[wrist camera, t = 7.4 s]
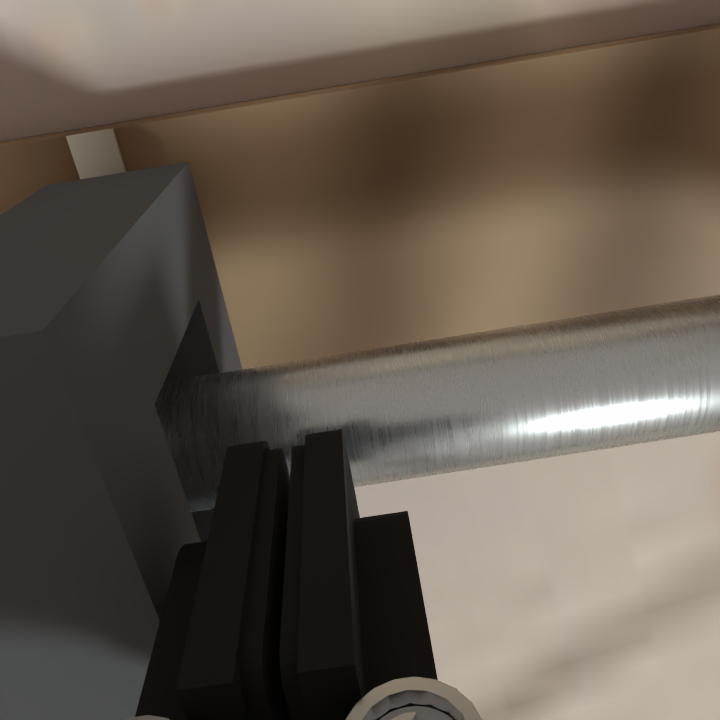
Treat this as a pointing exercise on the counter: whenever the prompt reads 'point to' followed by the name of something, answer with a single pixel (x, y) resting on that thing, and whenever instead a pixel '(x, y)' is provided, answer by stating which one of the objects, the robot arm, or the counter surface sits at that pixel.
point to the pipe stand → (439, 194)
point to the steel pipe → (463, 397)
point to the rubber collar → (96, 431)
